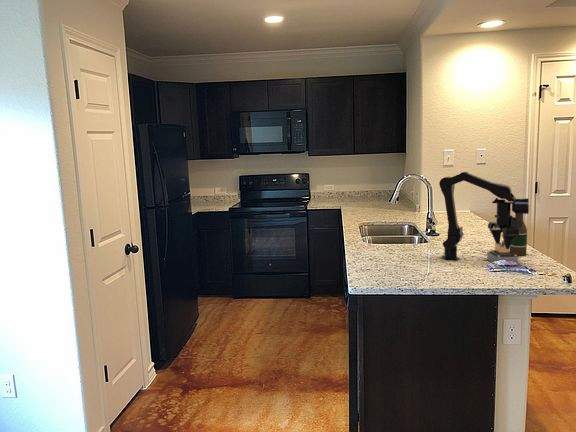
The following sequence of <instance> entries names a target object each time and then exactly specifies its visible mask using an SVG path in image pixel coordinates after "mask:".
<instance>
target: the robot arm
mask: <svg viewBox="0 0 576 432" xmlns="http://www.w3.org/2000/svg"><path fill="white" fill-rule="evenodd" d="M461 182H466V183H469V184H471V185H473V186H477V187H479V188H480V189H484V190H486V191H488V192H490V193H491V194H492V195H494V196H495V197H496V198H495V199H494V200H493V201H492V202H491V204H496V214H494V218H496V221H494V222H493V221H491V222H488V224H487V229H489V232H490V234H491V235H492V238H493V240H494V243H500V242H501V237H502V241H504V244H505V247H506V249H509V247H510V245H511V242H512V240H513V238H514V237H515V236H517V235H519V234H520V230H519V229H518V228H520V229H521V228H522V226H523V223H524V224H525V222H524V221H523V222H521V221H517V219H516V218H515V216H513V215H511V212H514V214H523V215H530V214H529V213H530V203H529V202H530V198H516V197H515V195H514V194H513V192H512V188H511V187H510V186H509V185H507V184H502V183H496V182H492V181H490V180H487V179H485V178H482V177H479V176H477V175H474V174H472V173H469V172H468V171H463V172H461V173H459V174H455V175H453V176H446V177H443V178H441V179H440V180H439V183H438V185H439V188H440V190H441V191H440V192H441V193H442V195H443V198H444V203H445V209H446V215H447V223H448V224H447V225H448V226H447V227H448V229H447V238H446V240H444V241H443V242H442V246H443V249H444V250H443V251H444V252H443V253H444V255H442V256H441V258H443V259H444V260H446V261H450V260H460V257H458V255H457V254H458V246H457V245H458V244H459V243H460V242H461V241H462V239H463V236H464V232H463V231H464V230H463V227H462V226H459V223H458V217H457V209H456V203H455V196H454V195H455V185H456V184H459V183H461ZM513 226H514V227H513ZM515 227H517V228H515Z"/></svg>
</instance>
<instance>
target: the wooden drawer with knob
mask: <svg viewBox="0 0 576 432" xmlns="http://www.w3.org/2000/svg"><path fill="white" fill-rule="evenodd" d="M494 243H495V244H494V250H495V252H496V253H498V254H508V253H510V247H509V249H506V247H505V244H504V240H502V241H500V243H496V242H494Z"/></svg>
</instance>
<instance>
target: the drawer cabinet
mask: <svg viewBox="0 0 576 432" xmlns="http://www.w3.org/2000/svg"><path fill="white" fill-rule="evenodd" d="M486 253H487V254H486V258H487V259H486V261H488V262H490V263H491V262H494V261H499V260H506V261H513V262H516V263H518V264H519V256H517V255H515V253H512V252H510V253H508V254H498V253H496V252H495V249H492V250H488V251H487V252H486Z"/></svg>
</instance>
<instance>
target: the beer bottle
mask: <svg viewBox="0 0 576 432" xmlns="http://www.w3.org/2000/svg"><path fill="white" fill-rule="evenodd" d="M514 214H515V213H514ZM514 218H516V219H517V221H521V222H524V214H515V215H514ZM513 227H514V226H513ZM515 228H517V227H515ZM518 229H519V230H520V234H519V235H517V236H515V237H514V238H513V240H512V242H511V245H510V252H512V253H515V255H517V256H518V257H523V256H527V242H528V239H527V238H528V229H527V226H526V224H525V222H524V223H523V226H522V228H521V229H520V228H518Z"/></svg>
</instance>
